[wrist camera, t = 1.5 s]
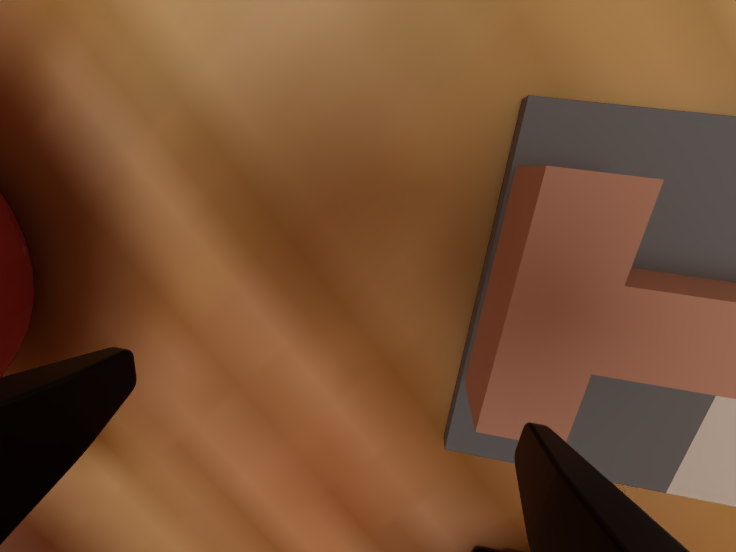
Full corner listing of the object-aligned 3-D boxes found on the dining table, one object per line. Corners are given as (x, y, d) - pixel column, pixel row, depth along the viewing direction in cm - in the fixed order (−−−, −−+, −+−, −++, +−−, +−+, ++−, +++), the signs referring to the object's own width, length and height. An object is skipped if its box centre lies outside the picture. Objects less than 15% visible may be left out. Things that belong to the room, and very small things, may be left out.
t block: (685, 421, 19) (752, 485, 15) (464, 381, 20) (475, 431, 16) (795, 200, 15) (922, 210, 11) (516, 166, 16) (546, 165, 12)
